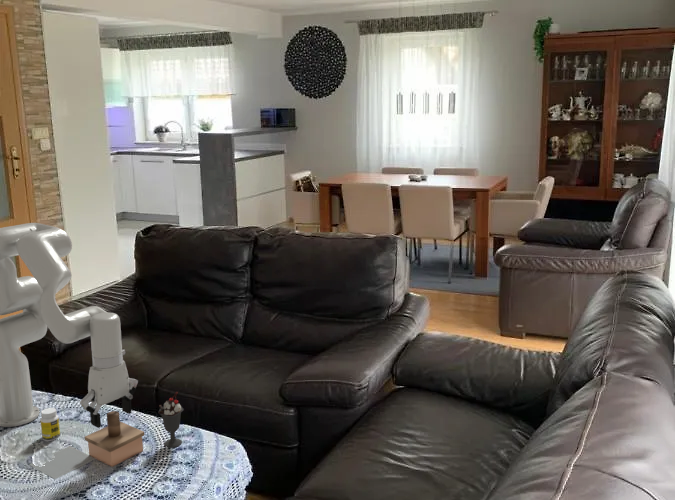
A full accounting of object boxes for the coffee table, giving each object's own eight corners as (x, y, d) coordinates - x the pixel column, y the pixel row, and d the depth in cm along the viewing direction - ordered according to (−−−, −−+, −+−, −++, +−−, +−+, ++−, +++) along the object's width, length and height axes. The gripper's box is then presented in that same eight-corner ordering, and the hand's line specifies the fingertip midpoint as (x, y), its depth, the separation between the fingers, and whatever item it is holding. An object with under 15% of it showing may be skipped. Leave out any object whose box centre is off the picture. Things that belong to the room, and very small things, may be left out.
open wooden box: (89, 456, 182) (87, 439, 181) (120, 441, 190) (118, 425, 189) (112, 468, 176) (110, 450, 175) (143, 452, 184) (141, 435, 183)
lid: (84, 440, 181) (82, 416, 179) (119, 424, 190) (117, 401, 188) (110, 452, 175) (108, 427, 173) (144, 435, 183) (142, 411, 182)
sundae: (190, 440, 191) (187, 391, 187) (175, 451, 185) (171, 400, 181) (171, 435, 193) (168, 387, 190) (156, 446, 187) (152, 396, 184)
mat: (29, 465, 178) (28, 464, 178) (69, 447, 187) (69, 445, 187) (55, 480, 171) (54, 479, 171) (96, 460, 180) (95, 458, 180)
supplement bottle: (53, 442, 190) (50, 415, 188) (38, 441, 191) (35, 413, 189) (63, 434, 194) (61, 407, 192) (49, 433, 195) (46, 406, 193)
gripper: (126, 346, 186) (129, 403, 190) (69, 366, 173) (75, 427, 177) (143, 353, 182) (147, 411, 186) (87, 374, 168) (92, 436, 172)
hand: (112, 419), depth 181 cm, fingers open, 9 cm apart
